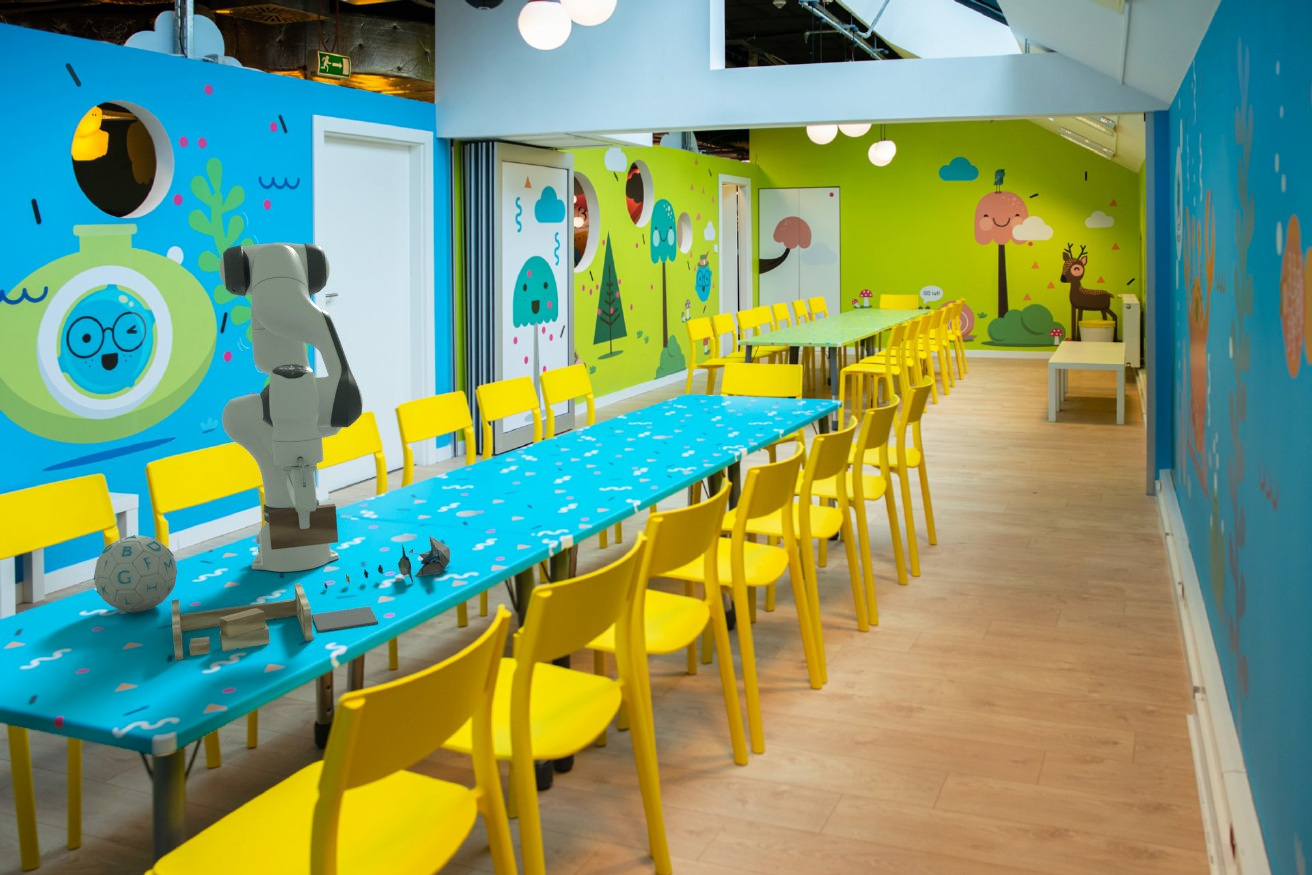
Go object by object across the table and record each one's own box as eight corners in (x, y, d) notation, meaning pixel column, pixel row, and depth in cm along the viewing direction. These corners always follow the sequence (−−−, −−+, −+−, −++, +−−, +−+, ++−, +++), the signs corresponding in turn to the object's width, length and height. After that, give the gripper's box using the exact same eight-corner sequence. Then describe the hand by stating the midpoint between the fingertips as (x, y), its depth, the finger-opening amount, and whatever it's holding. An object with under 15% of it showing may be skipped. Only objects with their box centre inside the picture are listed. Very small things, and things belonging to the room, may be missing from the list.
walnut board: (270, 546, 214) (267, 510, 213) (337, 539, 219) (334, 503, 217) (271, 549, 212) (268, 513, 211) (338, 542, 217) (335, 506, 215)
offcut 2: (221, 633, 205) (219, 617, 205) (257, 623, 210) (256, 607, 210) (228, 637, 203) (227, 621, 203) (265, 627, 208) (264, 611, 208)
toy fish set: (455, 569, 243) (444, 529, 244) (340, 602, 230) (328, 560, 231) (441, 577, 252) (430, 539, 253) (329, 609, 239) (318, 569, 240)
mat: (312, 616, 222) (311, 614, 222) (369, 608, 226) (369, 606, 226) (318, 632, 213) (318, 630, 213) (378, 623, 217) (378, 621, 217)
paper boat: (444, 572, 245) (401, 562, 245) (441, 591, 250) (399, 581, 249) (457, 531, 254) (416, 522, 254) (455, 550, 259) (414, 541, 258)
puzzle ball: (188, 595, 237) (181, 525, 234) (169, 619, 222) (162, 544, 220) (110, 600, 235) (103, 529, 232) (86, 624, 220) (78, 549, 218)
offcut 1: (192, 649, 206) (191, 638, 206) (210, 647, 207) (209, 636, 207) (190, 656, 203) (189, 645, 202) (208, 654, 204) (207, 643, 203)
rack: (174, 630, 216) (171, 599, 215) (302, 612, 225) (300, 583, 223) (175, 660, 200) (172, 627, 199) (313, 639, 209) (310, 608, 208)
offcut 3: (221, 647, 207) (219, 631, 207) (267, 639, 211) (266, 623, 210) (223, 652, 204) (221, 636, 204) (269, 644, 208) (268, 628, 207)
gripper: (321, 461, 204) (327, 536, 206) (310, 443, 223) (315, 512, 225) (284, 464, 202) (290, 540, 204) (276, 445, 220) (282, 515, 223)
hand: (303, 525), depth 215 cm, fingers closed on walnut board, 2 cm apart
